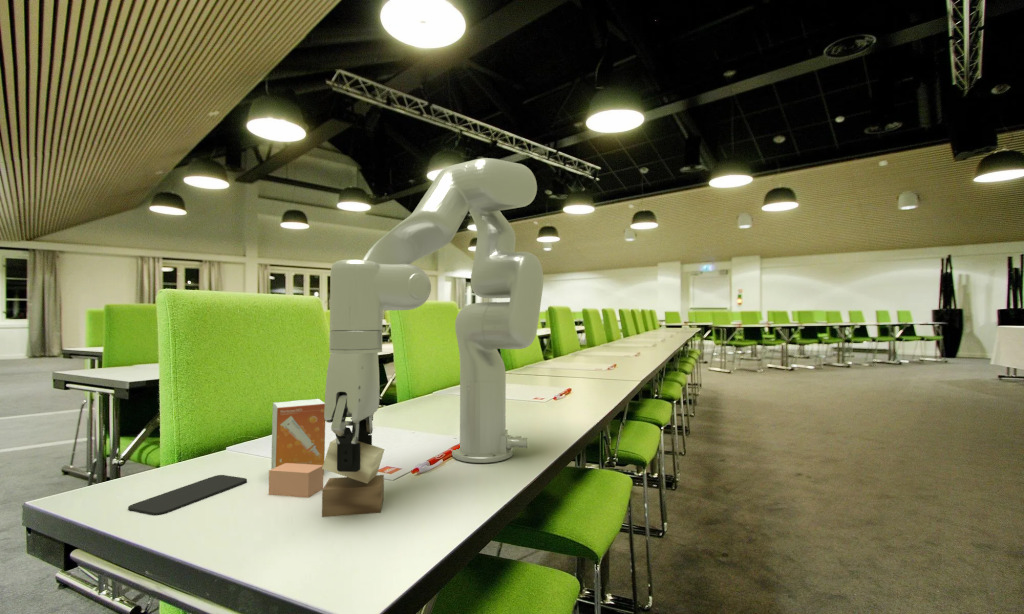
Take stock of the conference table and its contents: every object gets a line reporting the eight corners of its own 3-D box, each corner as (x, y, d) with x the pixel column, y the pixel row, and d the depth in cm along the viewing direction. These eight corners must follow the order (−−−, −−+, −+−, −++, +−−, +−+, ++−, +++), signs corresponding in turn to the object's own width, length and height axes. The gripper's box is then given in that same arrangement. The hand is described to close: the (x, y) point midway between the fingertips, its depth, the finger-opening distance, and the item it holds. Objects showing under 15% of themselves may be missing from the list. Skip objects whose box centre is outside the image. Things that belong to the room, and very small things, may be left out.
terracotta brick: (323, 489, 75) (323, 465, 76) (308, 498, 72) (308, 472, 72) (285, 486, 77) (285, 462, 77) (268, 495, 73) (269, 470, 73)
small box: (274, 484, 77) (276, 407, 78) (270, 474, 83) (272, 401, 83) (325, 475, 82) (326, 402, 82) (318, 466, 87) (319, 397, 88)
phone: (123, 506, 67) (218, 474, 81) (123, 512, 67) (218, 478, 81) (158, 513, 65) (250, 478, 79) (158, 519, 65) (250, 483, 79)
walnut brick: (383, 500, 71) (383, 474, 71) (380, 514, 66) (380, 486, 66) (329, 504, 69) (329, 478, 69) (321, 518, 64) (322, 489, 64)
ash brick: (376, 474, 70) (384, 449, 70) (367, 483, 66) (375, 456, 66) (334, 460, 70) (341, 435, 70) (322, 468, 66) (330, 442, 66)
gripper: (353, 340, 77) (352, 450, 76) (303, 345, 60) (301, 485, 60) (397, 340, 77) (396, 450, 76) (359, 345, 60) (358, 486, 59)
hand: (354, 464), depth 68 cm, fingers closed on ash brick, 3 cm apart
